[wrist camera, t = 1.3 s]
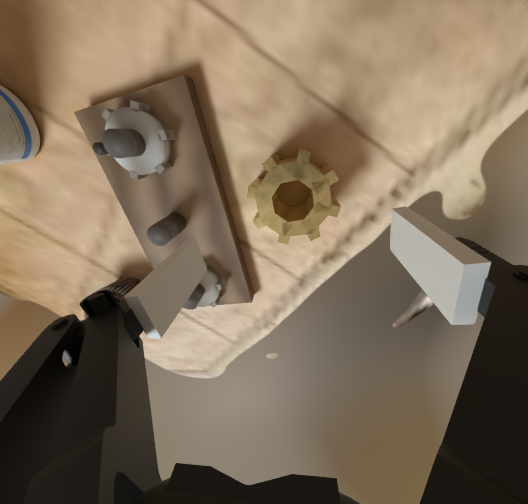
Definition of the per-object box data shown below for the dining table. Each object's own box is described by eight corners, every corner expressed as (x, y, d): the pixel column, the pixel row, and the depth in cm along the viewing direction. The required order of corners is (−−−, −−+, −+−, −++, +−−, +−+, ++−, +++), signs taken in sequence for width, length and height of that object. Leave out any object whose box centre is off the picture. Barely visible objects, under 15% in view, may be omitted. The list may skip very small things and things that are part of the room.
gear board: (191, 79, 25) (157, 60, 19) (254, 294, 38) (245, 324, 32) (87, 113, 28) (30, 107, 22) (178, 301, 42) (157, 329, 36)
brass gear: (329, 140, 26) (336, 142, 21) (335, 219, 30) (342, 236, 25) (249, 158, 28) (238, 164, 23) (265, 229, 33) (259, 247, 27)
